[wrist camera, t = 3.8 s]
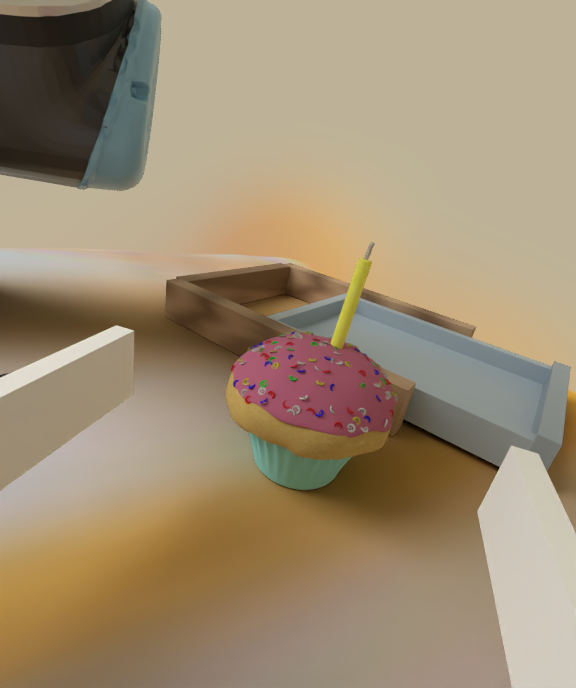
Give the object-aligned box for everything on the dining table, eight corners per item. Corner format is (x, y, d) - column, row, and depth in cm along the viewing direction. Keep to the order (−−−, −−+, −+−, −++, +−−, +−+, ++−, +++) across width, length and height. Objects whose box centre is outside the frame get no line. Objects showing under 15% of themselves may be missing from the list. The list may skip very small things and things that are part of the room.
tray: (256, 345, 33) (261, 312, 32) (341, 313, 45) (347, 288, 43) (538, 486, 22) (562, 445, 21) (554, 396, 34) (570, 366, 33)
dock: (161, 314, 37) (163, 278, 35) (283, 288, 51) (287, 262, 50) (392, 436, 25) (408, 390, 24) (463, 358, 40) (476, 326, 38)
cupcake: (292, 400, 27) (329, 223, 22) (400, 471, 22) (478, 265, 17) (185, 449, 21) (204, 218, 16) (304, 561, 16) (383, 281, 11)
